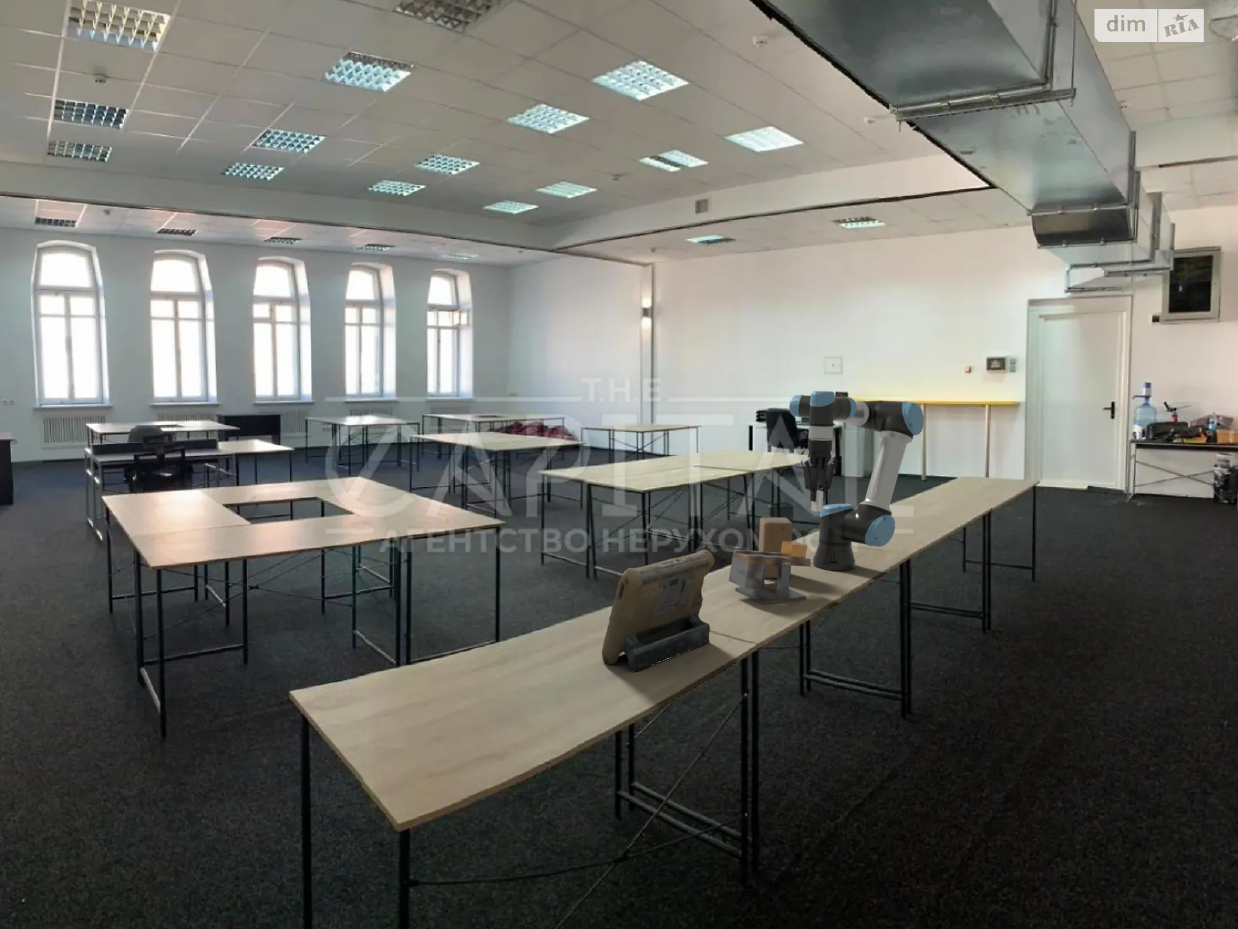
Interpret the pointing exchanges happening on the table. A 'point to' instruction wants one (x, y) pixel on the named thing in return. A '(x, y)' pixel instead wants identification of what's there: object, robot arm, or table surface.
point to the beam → (757, 566)
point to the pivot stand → (774, 588)
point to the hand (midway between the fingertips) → (816, 510)
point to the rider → (793, 549)
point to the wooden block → (774, 539)
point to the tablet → (658, 611)
